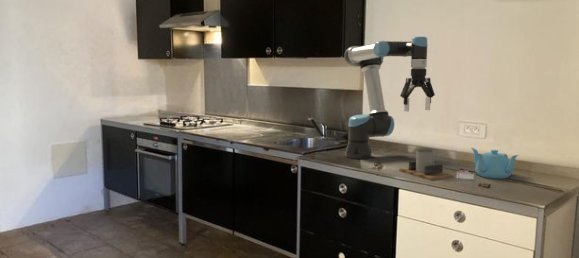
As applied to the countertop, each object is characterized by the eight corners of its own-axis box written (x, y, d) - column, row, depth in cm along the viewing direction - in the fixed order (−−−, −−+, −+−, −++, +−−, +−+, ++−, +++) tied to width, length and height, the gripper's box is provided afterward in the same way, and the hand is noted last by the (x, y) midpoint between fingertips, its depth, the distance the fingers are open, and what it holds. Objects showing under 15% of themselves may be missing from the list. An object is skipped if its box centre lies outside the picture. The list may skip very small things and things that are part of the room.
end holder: (398, 170, 240) (399, 160, 240) (420, 168, 247) (421, 157, 246) (430, 180, 221) (430, 169, 220) (453, 177, 227) (453, 166, 227)
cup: (419, 168, 240) (420, 148, 238) (436, 170, 235) (437, 150, 233) (413, 171, 233) (413, 151, 231) (429, 174, 228) (430, 153, 227)
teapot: (476, 179, 223) (478, 153, 221) (469, 170, 241) (470, 146, 239) (517, 181, 220) (518, 154, 218) (506, 172, 238) (508, 147, 236)
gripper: (403, 68, 234) (402, 112, 237) (443, 68, 246) (441, 110, 249) (393, 68, 241) (392, 111, 244) (432, 67, 252) (430, 108, 255)
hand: (417, 110), depth 246 cm, fingers open, 13 cm apart
